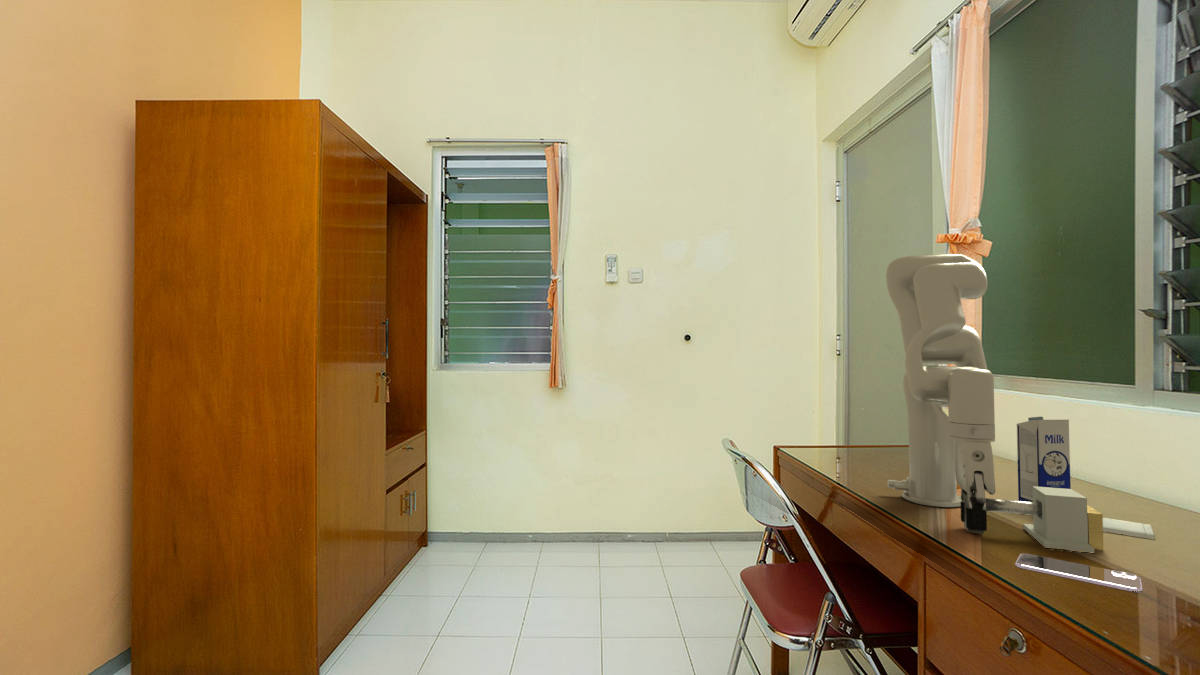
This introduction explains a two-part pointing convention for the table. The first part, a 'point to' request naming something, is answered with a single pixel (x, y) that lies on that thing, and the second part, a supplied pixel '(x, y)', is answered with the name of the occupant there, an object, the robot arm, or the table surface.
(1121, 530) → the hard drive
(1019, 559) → the mobile phone
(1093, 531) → the spacer
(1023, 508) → the shaft
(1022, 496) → the milk carton
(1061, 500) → the bearing block
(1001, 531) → the table surface
